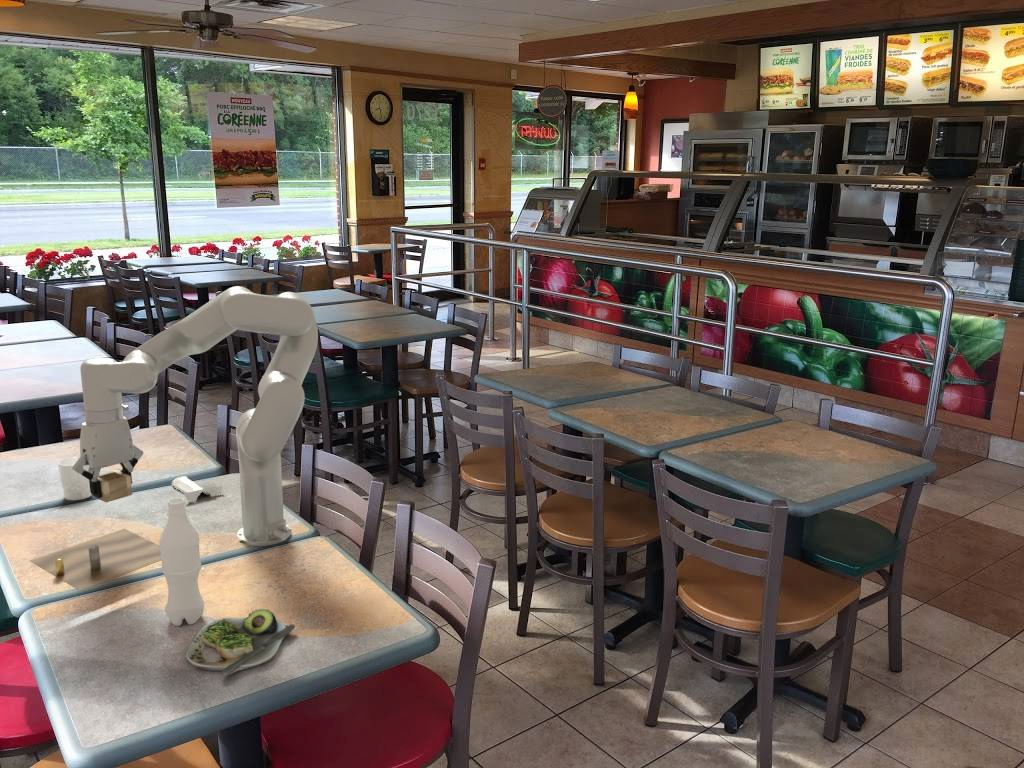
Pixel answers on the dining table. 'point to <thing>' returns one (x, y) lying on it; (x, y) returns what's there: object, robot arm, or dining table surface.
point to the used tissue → (195, 488)
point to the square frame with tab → (114, 485)
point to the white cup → (73, 480)
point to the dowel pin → (59, 567)
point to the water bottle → (181, 565)
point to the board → (102, 558)
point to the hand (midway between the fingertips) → (112, 491)
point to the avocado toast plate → (239, 641)
